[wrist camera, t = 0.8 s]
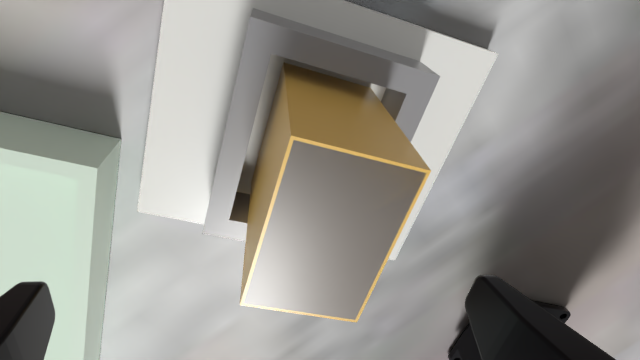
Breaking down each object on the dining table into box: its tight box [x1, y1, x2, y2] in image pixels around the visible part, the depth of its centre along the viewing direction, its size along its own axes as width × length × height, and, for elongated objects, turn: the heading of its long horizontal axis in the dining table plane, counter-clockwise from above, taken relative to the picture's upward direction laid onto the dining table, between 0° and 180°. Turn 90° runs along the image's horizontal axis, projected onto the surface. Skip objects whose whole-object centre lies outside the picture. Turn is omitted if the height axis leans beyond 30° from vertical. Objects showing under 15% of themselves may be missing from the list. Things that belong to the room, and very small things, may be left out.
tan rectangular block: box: [240, 62, 431, 322], centre depth 16 cm, size 4×6×8 cm, turn 162°
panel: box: [137, 0, 498, 260], centre depth 18 cm, size 14×12×4 cm
